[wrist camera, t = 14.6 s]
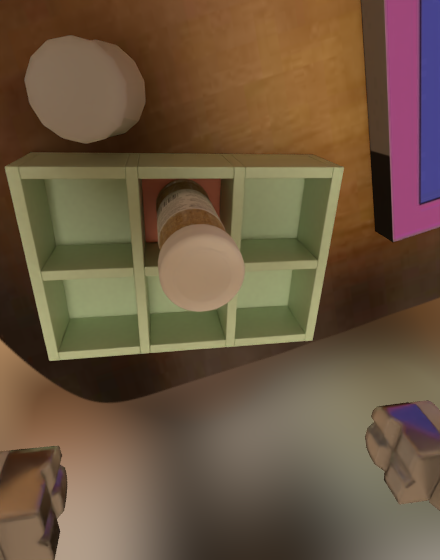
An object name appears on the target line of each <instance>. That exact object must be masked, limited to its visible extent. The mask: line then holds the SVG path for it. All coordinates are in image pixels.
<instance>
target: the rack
mask: <svg viewBox="0 0 440 560" xmlns="http://www.w3.org/2000/svg"><path fill="white" fill-rule="evenodd" d="M343 170H344V167H342V166H339V165H337V164H335V163H332V162H330V161H327V160H325V159H323V158H320V157H318V156H315V155H313V154H193V153H66V152H31V153H29V154H27V155H25V156H24V157H22V158H20V159H18V160H16V161H14V162H13V163H11V164H9V165H7V166H5V171H6V175H7V179H8V184H9V188H10V192H11V197H12V201H13V205H14V210H15V214H16V218H17V223H18V227H19V231H20V236H21V240H22V244H23V249H24V253H25V257H26V262H27V266H28V270H29V275H30V279H31V283H32V288H33V292H34V296H35V301H36V305H37V309H38V314H39V318H40V322H41V327H42V331H43V335H44V340H45V344H46V348H47V353H48V357H49V361H54V360H59V359H60V360H66V359H79V358H91V357H104V356H117V355H130V354H140V353H150V352H151V353H155V352H167V351H180V350H193V349H206V348H219V347H233V346H246V345H258V344H271V343H284V342H297V341H310V340H313V334H314V329H315V324H316V318H317V313H318V307H319V302H320V296H321V291H322V285H323V280H324V274H325V269H326V263H327V258H328V252H329V247H330V241H331V236H332V230H333V225H334V219H335V214H336V208H337V203H338V197H339V192H340V186H341V181H342V175H343ZM179 179H187V180H192V181H194V182H196V183H198V184H199V185H200V186H202V187H203V188H204V190H205V191H206V193H207V194H208V197H209V200H210V202H211V203H212V205H213V207H214V209H215V211H216V213H217V215H218V217H219V218H220V220H221V222H222V224H223V226H224V228H225V231H226V233H228V234H229V235H230V236H231V237H232V239H233V240H234V242H235V243H236V245H237V247H238V249H239V251H240V253H241V255H242V258H243V260H244V265H245V275H244V280H243V283H242V285H241V288H240V289H239V291H238V292H237V294H236V295H235V296H234V297H233V298H232V299H231V300H230V301H229V302H228V303H226V304H225V305H223V306H221V307H219V308H217V309H214V310H210V311H203V312H196V311H190V310H186V309H183V308H181V307H179V306H177V305H176V304H174V303H173V302H172V301H171V300H170V299H169V298H168V297H167V296H166V295H165V293H164V292H163V290H162V287H161V284H160V280H159V271H158V258H159V253H160V249H159V244H158V231H157V212H156V200H157V197H158V195H159V192H160V191H161V189H163V188H164V186H165V185H167V184H169V183H170V182H172V181H174V180H179Z"/></svg>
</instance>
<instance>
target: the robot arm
mask: <svg viewBox="0 0 440 560" xmlns="http://www.w3.org/2000/svg"><path fill="white" fill-rule="evenodd" d="M371 417H372V419H373V420H374V423H373V424H371V425H370V426H369V427H368V428H367V432H366V436H365V440H366V447H367V450H368V453H369V455H370V457H371V459H372V461H373V462H374V464H375V465H377V466H378V467H379V468H381V469H382V470H384V471H385V473H384V481H385V482H386V484H387V485H388V487H389V489H390V490H391V492H392V494H393V495H394V497H395V499H396V500H397V502H398V503H399V504H405V503H413V502H420V501H427V500H430V501H429V502H430V503H431V504H432V505H433V506H435V507H436V508H437V509H438V510H439V511H440V410H439V409H438V408H437V407H436V406H435V404H433V403H432V402H430V401H428V400H427V401H419V402H411V403H400V404H393V405H385V406H378V407H376V408H375V409H374V410H373V412H372V415H371ZM61 457H62V454H61V451H60V447H59V446H51V447H40V448H30V449H19V450H10V451H0V560H54V559H55V554H56V549H57V544H58V539H59V534H60V529H59V526H58V522H57V518H58V517H59V516H60V515H61V514H62V513H63V511H64V508H65V502H66V494H67V475H66V470H65V467H63V466H61V465H60V461H61Z"/></svg>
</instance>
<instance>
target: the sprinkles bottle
mask: <svg viewBox="0 0 440 560" xmlns="http://www.w3.org/2000/svg"><path fill="white" fill-rule="evenodd" d="M156 212H157V231H158V244H159V249H160V253H159V258H158V271H159V280H160V284H161V287H162V290H163V292H164V293H165V295H166V296H167V297H168V298H169V299H170V300H171V301H172V302H173V303H174V304H176V305H177V306H179V307H181V308H183V309H186V310H190V311H196V312H203V311H210V310H214V309H217V308H219V307H221V306H223V305H225V304H226V303H228V302H229V301H230V300H231V299H232V298H233V297H234V296H235V295H236V294H237V292H238V291H239V289H240V288H241V285H242V283H243V280H244V275H245V265H244V260H243V258H242V255H241V253H240V251H239V249H238V247H237V245H236V243H235V242H234V240H233V239H232V237H231V236H230V235H229V234H228V233H226V231H225V228H224V226H223V224H222V222H221V220H220V218H219V217H218V215H217V213H216V211H215V209H214V207H213V205H212V203H211V202H210V200H209V197H208V194H207V193H206V191H205V190H204V188H203V187H202V186H200V185H199V184H198V183H196V182H194V181H192V180H187V179H179V180H174V181H172V182H170V183H169V184H167V185H165V186H164V188H163V189H161V191H160V192H159V195H158V197H157V200H156Z"/></svg>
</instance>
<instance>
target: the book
mask: <svg viewBox="0 0 440 560" xmlns="http://www.w3.org/2000/svg"><path fill="white" fill-rule="evenodd" d="M361 7H362V23H363V39H364V55H365V71H366V87H367V103H368V119H369V135H370V151H371V167H372V183H373V199H374V215H375V231H376V232H378V233H379V234H381V235H383V236H384V237H386V238H387V239H389V240H390V241H392V242H395V241H398V240H402V239H405V238H408V237H411V236H414V235H417V234H420V233H423V232H426V231H429V230H432V229H435V228H438V227H440V0H361Z"/></svg>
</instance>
